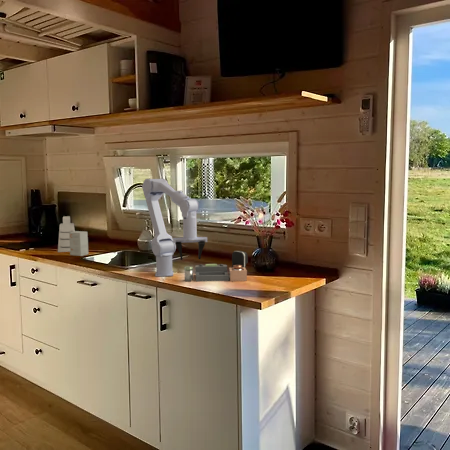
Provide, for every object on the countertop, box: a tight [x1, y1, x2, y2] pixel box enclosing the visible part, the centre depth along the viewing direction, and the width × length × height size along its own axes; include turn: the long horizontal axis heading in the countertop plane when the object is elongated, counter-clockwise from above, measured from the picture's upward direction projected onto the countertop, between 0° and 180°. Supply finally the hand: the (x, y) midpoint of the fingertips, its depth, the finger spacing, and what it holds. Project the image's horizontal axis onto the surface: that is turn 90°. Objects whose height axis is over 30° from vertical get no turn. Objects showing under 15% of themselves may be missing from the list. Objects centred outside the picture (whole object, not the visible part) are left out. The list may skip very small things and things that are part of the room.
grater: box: [57, 215, 76, 253], centre depth 291 cm, size 10×10×20 cm
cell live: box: [183, 265, 194, 283], centre depth 212 cm, size 4×4×6 cm
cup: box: [228, 267, 248, 282], centre depth 212 cm, size 7×7×5 cm
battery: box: [231, 250, 249, 269], centre depth 219 cm, size 7×4×11 cm, turn 47°
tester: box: [194, 263, 230, 282], centre depth 214 cm, size 13×14×6 cm
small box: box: [69, 230, 89, 257], centre depth 276 cm, size 8×6×13 cm
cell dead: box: [233, 265, 242, 270], centre depth 211 cm, size 4×4×6 cm
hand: (190, 259), depth 210 cm, fingers open, 7 cm apart
